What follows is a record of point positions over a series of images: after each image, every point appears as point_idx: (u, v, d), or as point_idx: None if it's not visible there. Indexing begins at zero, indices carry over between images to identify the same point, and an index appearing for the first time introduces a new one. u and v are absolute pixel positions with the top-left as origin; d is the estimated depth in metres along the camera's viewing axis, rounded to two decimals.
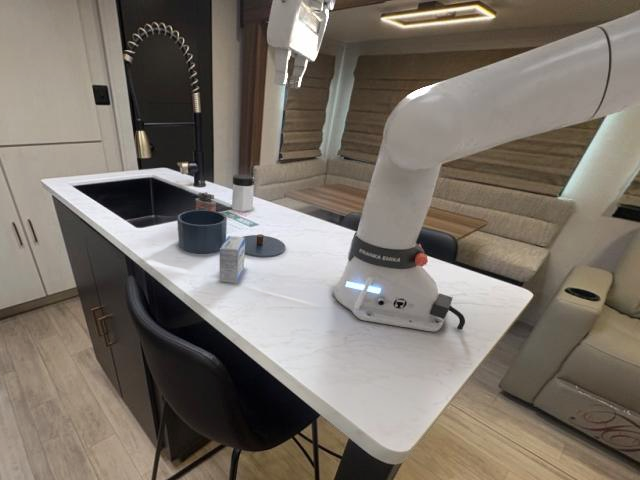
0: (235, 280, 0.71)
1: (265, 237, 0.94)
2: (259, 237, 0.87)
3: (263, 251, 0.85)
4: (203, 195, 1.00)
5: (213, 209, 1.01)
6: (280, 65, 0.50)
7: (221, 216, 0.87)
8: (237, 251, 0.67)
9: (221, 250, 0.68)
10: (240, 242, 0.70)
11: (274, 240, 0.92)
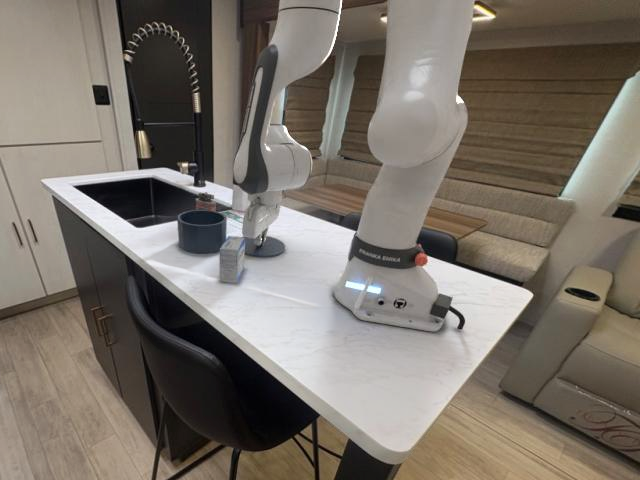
0: (235, 280, 0.71)
1: None
2: None
3: (263, 251, 0.85)
4: (203, 195, 1.00)
5: (213, 209, 1.01)
6: (256, 237, 0.85)
7: (221, 216, 0.87)
8: (237, 251, 0.67)
9: (221, 250, 0.68)
10: (240, 242, 0.70)
11: (274, 240, 0.92)
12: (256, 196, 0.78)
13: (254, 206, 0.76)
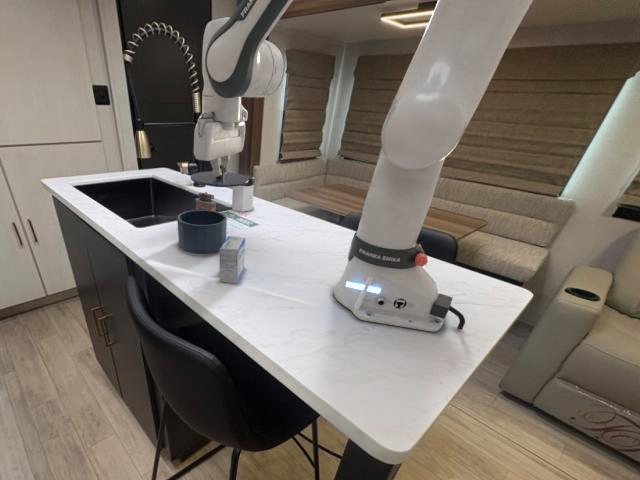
0: (235, 280, 0.71)
1: (228, 173, 0.84)
2: None
3: (222, 181, 0.75)
4: (203, 195, 1.00)
5: (213, 209, 1.01)
6: (214, 166, 0.75)
7: (221, 216, 0.87)
8: (237, 251, 0.67)
9: (221, 250, 0.68)
10: (240, 242, 0.70)
11: (237, 175, 0.82)
12: (210, 111, 0.68)
13: (206, 120, 0.66)
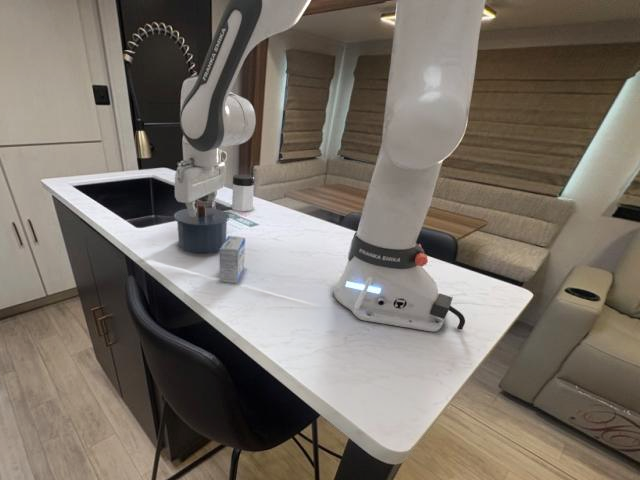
0: (235, 280, 0.71)
1: (211, 209, 0.89)
2: (200, 207, 0.82)
3: (203, 221, 0.80)
4: None
5: None
6: (190, 207, 0.78)
7: None
8: (237, 251, 0.67)
9: (221, 250, 0.68)
10: (240, 242, 0.70)
11: (219, 212, 0.87)
12: (189, 157, 0.73)
13: (185, 166, 0.71)
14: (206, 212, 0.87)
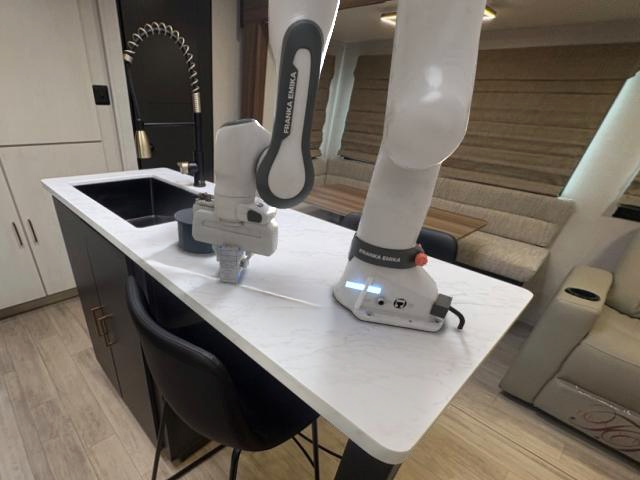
0: (235, 280, 0.71)
1: None
2: None
3: None
4: (203, 195, 1.00)
5: None
6: None
7: None
8: (237, 251, 0.67)
9: (221, 250, 0.68)
10: None
11: None
12: None
13: (202, 207, 0.69)
14: None
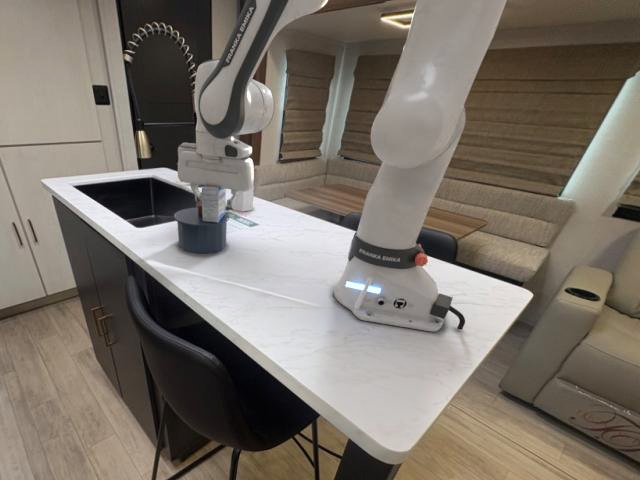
0: (216, 219, 0.79)
1: None
2: (200, 207, 0.82)
3: (203, 221, 0.80)
4: None
5: None
6: None
7: None
8: (217, 190, 0.75)
9: (203, 189, 0.76)
10: None
11: None
12: None
13: (186, 148, 0.76)
14: None
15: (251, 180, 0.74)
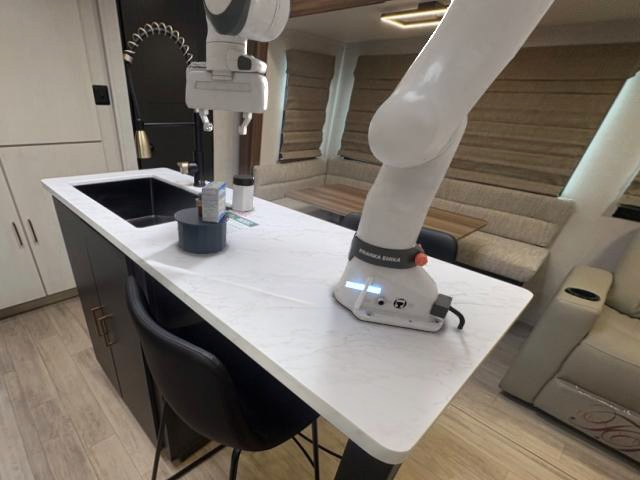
0: (216, 219, 0.79)
1: None
2: (200, 207, 0.82)
3: (203, 221, 0.80)
4: None
5: None
6: None
7: None
8: (217, 190, 0.75)
9: (203, 189, 0.76)
10: (221, 184, 0.78)
11: None
12: None
13: (194, 68, 0.71)
14: None
15: (265, 100, 0.69)
